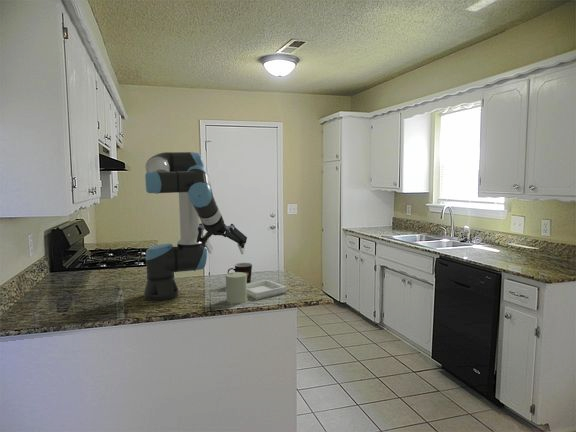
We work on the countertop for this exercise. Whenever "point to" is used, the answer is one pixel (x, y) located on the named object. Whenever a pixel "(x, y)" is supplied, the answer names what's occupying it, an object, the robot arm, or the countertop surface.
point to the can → (236, 287)
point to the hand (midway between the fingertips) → (226, 251)
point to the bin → (264, 289)
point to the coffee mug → (244, 269)
